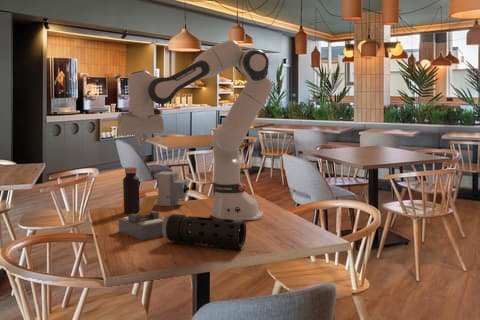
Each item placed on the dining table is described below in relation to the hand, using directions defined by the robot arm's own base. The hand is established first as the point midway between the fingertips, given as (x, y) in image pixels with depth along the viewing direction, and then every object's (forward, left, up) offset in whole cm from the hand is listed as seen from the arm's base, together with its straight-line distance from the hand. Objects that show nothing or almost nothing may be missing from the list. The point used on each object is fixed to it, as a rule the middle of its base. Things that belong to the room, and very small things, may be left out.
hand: (141, 145), depth 210 cm
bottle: (+10, -10, -31) cm, 34 cm away
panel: (-9, +19, -31) cm, 37 cm away
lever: (-9, +19, -25) cm, 32 cm away
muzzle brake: (-36, +29, -31) cm, 56 cm away
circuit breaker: (-2, -30, -31) cm, 43 cm away
